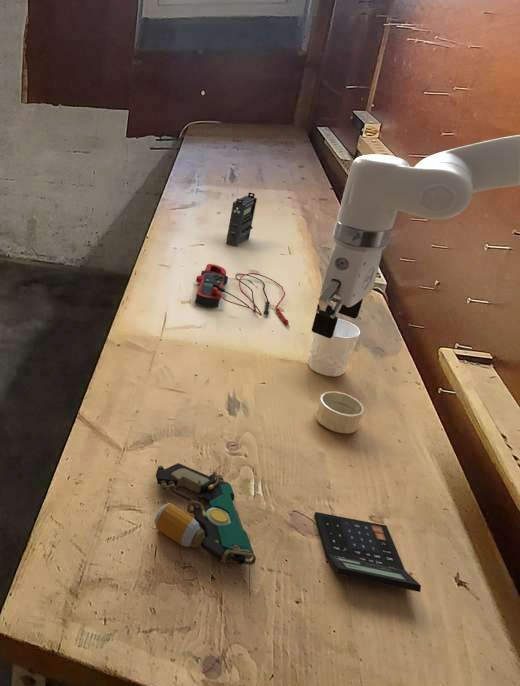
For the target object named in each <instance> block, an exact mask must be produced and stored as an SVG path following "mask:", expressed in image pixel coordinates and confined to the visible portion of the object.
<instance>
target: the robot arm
mask: <svg viewBox="0 0 520 686" xmlns="http://www.w3.org/2000/svg"><path fill="white" fill-rule="evenodd" d="M512 187H520V134H515V135H509V136H504V137H497V138H493V139H489V140H484V141H480V142H476V143H471V144H468V145H462V146H459V147H455V148H451V149H447V150H443V151H440V152H436V153H433V154H431V155H428V156H427V157H424V158H423V159H421V160H420V161H418V162H417V163H416V164H415V165H414V166H410V164H409V162H408V161H407V160H406V159H404V158H400V157H398V156H394V155H388V154H381V153H379V154H378V153H373V154H370V153H369V154H364V155H360V156H357V157H356V158H355V159H354V160H353V161H352V163H351V165H350V168H349V172H348V176H347V179H346V183H345V187H344V190H343V194H342V199H341V202H340V206H339V210H338V213H337V217H336V221H335V224H334V227H333V232H332V234H331V235H332V236H331V239H332V241H333V242H334V243H335V244H334V247H333V249H332V252H331V254H330V257H329V260H328V264H327V267H326V270H325V273H324V276H323V279H322V283H321V285H320V286H321V287H320V291H319V297H318V303H317V306H316V309H315V316H314V319H313V322H312V325H311V332H312V333H313V332H314V333H317V334H319V335H322V336H324V337H327V338H331V337H333V334H334V331H335V327H336V324H337V320H338V319H339V317H338V316H337V315H339V314H340V315H343V316H346V317H348V318H351V319H357V318H358V317H359V314H360V310H361V307H362V304H363V301H364V298H366V297H368V295H369V294H370V293H371V292H372V291H373V289H374V287H375V283H376V279H377V275H378V271H379V269H380V268H379V267H380V265H381V264H380V263H381V259H382V254H383V250H385V249H387V247H388V243H389V240H390V236H391V233H392V230H393V227H394V224H395V220H396V218H397V214H398V212H402V213H405V214H409V215H412V216H415V217H419V218H423V219H427V220H439V221H440V220H447V219H451V218H453V217H456V216H458V215H460V214H461V213H463V212H464V211H465V210H466V209H467V208H468V207H469V206H470V204H471V202H472V199H473V194H474V193H479V192H485V191H486V192H487V191H491V190H495V189H502V188H512ZM336 297H337V298H336ZM331 303H332V304H334V307H332V305H330V304H331Z"/></svg>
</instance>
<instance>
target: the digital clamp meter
mask: <svg viewBox="0 0 520 686" xmlns="http://www.w3.org/2000/svg"><path fill="white" fill-rule="evenodd" d="M253 275H257V276H260V277H262V278H265V279H267V280H270V281H271V282H273V283H275V284H276V285H277V286H279V287H280V288H281V290H282V291H283V296H282V297H281V299H280V300H279V301H278V302H277V304H276V306H275V312H276V313H277V314H278V316H279V317H280V319H281V320H282V322H283V324H285V325H286V326H288V327H289V328H291V326H290V325H289V320H288V319H287V318H286V316H285V315H284V314H283V313H282V311H281V310H280V308H278V307H279V305H280V303H282V301H283V299H284V298H285V296H286V292H285V290H284V286H282V285H281V284H280V283H278V282H277V281H276V280H274V279H272V278H270V277H267V276H265V275H263V274H260V273H256V272H249V273H246V274H245V273H237V274H235V276H234V278H235V280H236V281H238V286H239V290H240V292H241V293H242V294H243V295H244V297H246V298H247V299H248V300H249V301H250V302H251V304H253V308H252V307H250V306H249V305H248V304H247V303H246V302H244V301H243V300H242V299H240V298H238V296H236V295H234V294H231V293H229V292H228V291H226V289H225V288H224V286H226V285H227V284H228V280H229V276H227V270H226V268H224V267H222V266H220V265H218V264H213V263H208V264H206V266H205V269H204V270H201V273H200V275H197V276H196V279H195V281H196V283H199V286H198V289H197V292H196V295H195V301H194V302H195V304H197V305H199V306H201V307H207V308H219V305H220V302H221V298H222V299H223V301H225V302H227V303H230V304H233V305H237V306H241V307H243V308H247V309H249V310H251V311H252V312H253V313H257V315H259V316H260V317H262V316H263V315H264V318H267V316H268V315H269V308H270V303H271V302H270V301H269V298H268V296H267V294H266V291H265V287H266V284H265V282H264V281H263V280H262V279H260V278H258V277H256V276H253ZM237 276H240V277H239V278H238V277H237ZM246 276H248V277H251V278H254V279H256V280H258V281H259V282H261V283H262V284H263V287H262V291H263V294H264V296H265V299H266V301H265V307H264V311H263V314H262V312H261V310H260V308H259V307H258V306H257V305H256V303H255V298H254V291H253V289H252V288H251V287H250V286H249V285H248V284H246V283H244V282H243V281H242V278H243V277H246ZM241 284H242V285H244V286H245V287H247V288H248V289H249V290H250V292H251V298H250V297H249V296H248V294H246V293H245V292H244V291H243V289H242V285H241ZM222 293H226V294H228V295H229V296H231V297H233V298H235V299H236V300H238V301H240V302H241V303H242V304H241V303H236V302H233V301H230V300H228V299H226V298H225V297H224V296H222ZM243 304H244V305H243Z"/></svg>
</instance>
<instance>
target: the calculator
mask: <svg viewBox="0 0 520 686" xmlns="http://www.w3.org/2000/svg"><path fill="white" fill-rule="evenodd" d="M313 517H314V521H315V524H316V528H317V530H318V531H317V532H318V535H319V538H320V542H321V545H322V549H323V553H324V556H325V559H326V560H327V562H328V563H329V564H330V566H331V567H332V568H333V570H334V571H335V572H336V574H337V575H339V576H344V577H349V578H352V579H353V578H354V579H357V580H361V581H368V582H372V583H376V584H380V585H386V586H390V587H395V588H400V589H404V590H409V591H412V592H416V593H417V592H418V593H421V587H422V585H421V584H420V583H419V582H418V581H417V580H416V579H415V578H414V577H413V576H412V575H411V574H410V573H408V572H407V570H406V569H405V566H404V564H403V562H402V559H401V557H400V555H399V552H398V550H397V547H396V544H395V542H394V540H393V538H392V536H391V532H390V530H389V528H388V526H387V525H386V524H381V523H376V522H371V521H366V520H365V521H364V520H360V519H354V518H351V517H350V518H349V517H344V516H341V515H340V516H339V515H334V514H329V513H325V512H318V511H315V512H314V514H313Z"/></svg>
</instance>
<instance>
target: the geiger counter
mask: <svg viewBox="0 0 520 686" xmlns="http://www.w3.org/2000/svg"><path fill="white" fill-rule="evenodd" d="M255 195H256V193H254V192H249V191H248V193H247V195H244V196H242V197H240V198H239V197H238V198H236V200H235V201H233V202H232V206H231V213H230V218H229V224H228V229H227V235H226V240H225V244H226V245H228V246H229V245H230V246H233V247H238V246H239V245H240V244H242V243H243V242H245V241H246V240H249V239H250V235H251V230H252V229H253V221H254V215H255V210H256V205H257V201H258V198H257V197H255Z"/></svg>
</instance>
